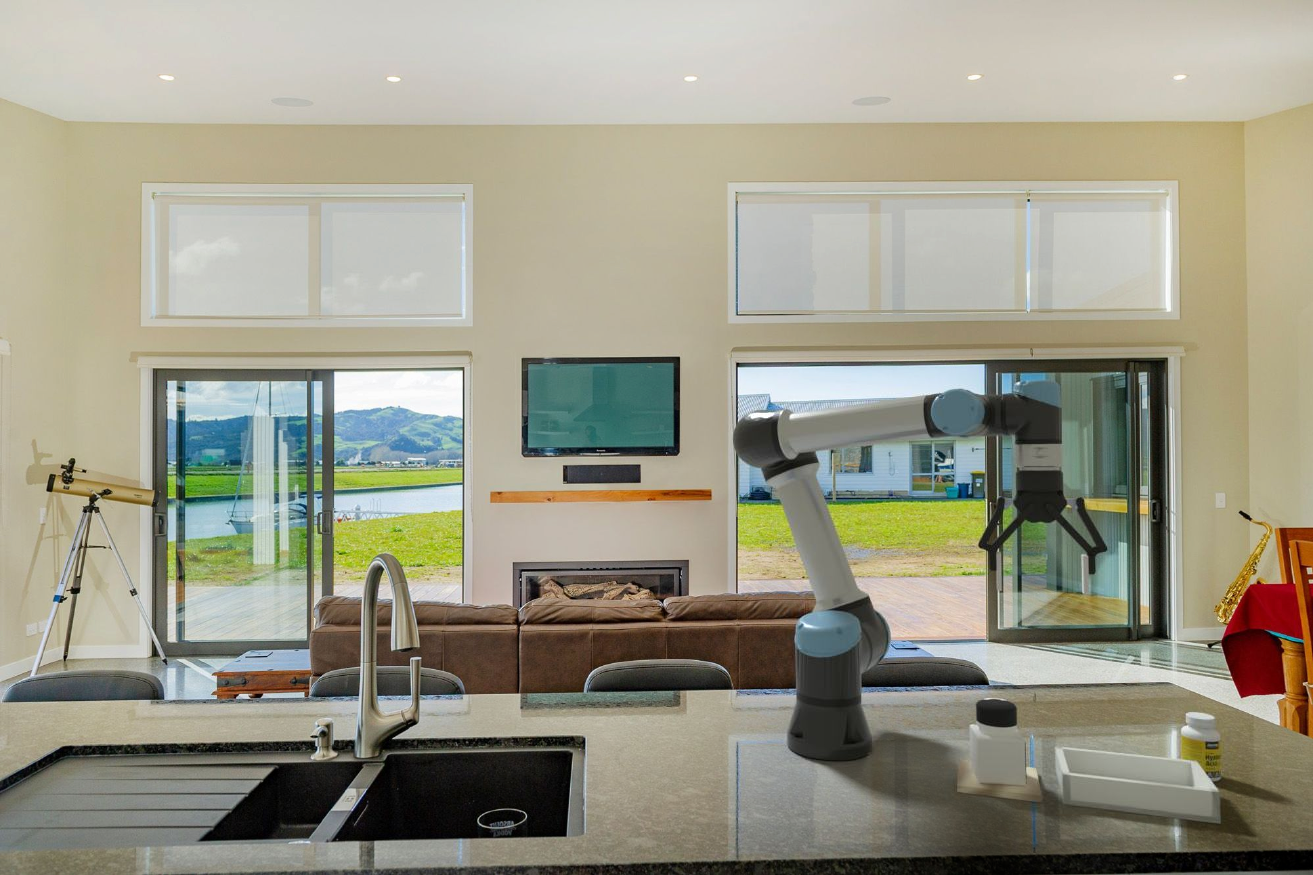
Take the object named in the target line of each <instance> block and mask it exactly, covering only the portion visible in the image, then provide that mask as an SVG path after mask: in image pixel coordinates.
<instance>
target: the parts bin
mask: <svg viewBox="0 0 1313 875" xmlns="http://www.w3.org/2000/svg"><path fill="white" fill-rule="evenodd" d="M1054 766H1055V767H1054V770H1055V772H1054V773H1055V777H1056V780H1057V784H1058V788H1059V792H1060V795H1061V799H1062V803H1063V805H1067V806H1068V805H1069V806H1076V807H1083V808H1084V807H1085V808H1093V809H1100V810H1107V811H1108V810H1109V811H1117V812H1123V813H1133V814H1140V815H1146V816H1147V815H1148V816H1155V817H1156V816H1157V817H1163V818H1171V819H1180V820H1188V821H1195V822H1204V823H1211V824H1218V825H1221V824H1222V822H1221V819H1222V818H1221V793H1220V792H1221V791H1220V790H1219V789H1218V788H1217V787H1216V785H1215V784H1214V782H1212V781H1211V780H1210V778H1209V777H1208V776H1207V774H1206V773H1205V772H1204V770H1203V769H1202V768H1201V766H1200V765H1199V764H1198V762H1197V761H1192V760H1183V759H1181V758H1173V757H1162V756H1153V755H1152V756H1151V755H1143V754H1133V753H1121V752H1115V751H1104V750H1097V749H1096V750H1093V749H1086V748H1077V747H1075V748H1074V747H1066V746H1057V745H1055V746H1054Z"/></svg>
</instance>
